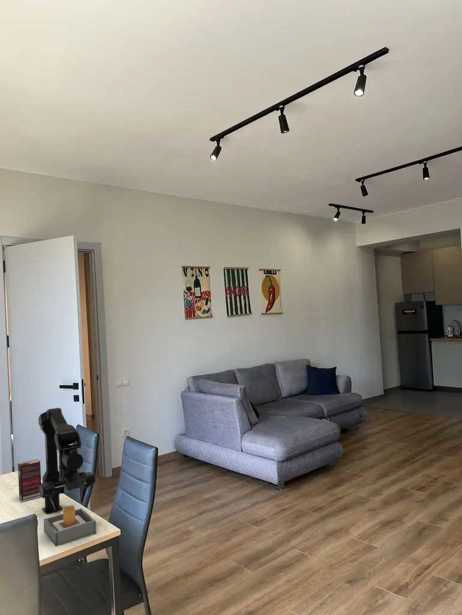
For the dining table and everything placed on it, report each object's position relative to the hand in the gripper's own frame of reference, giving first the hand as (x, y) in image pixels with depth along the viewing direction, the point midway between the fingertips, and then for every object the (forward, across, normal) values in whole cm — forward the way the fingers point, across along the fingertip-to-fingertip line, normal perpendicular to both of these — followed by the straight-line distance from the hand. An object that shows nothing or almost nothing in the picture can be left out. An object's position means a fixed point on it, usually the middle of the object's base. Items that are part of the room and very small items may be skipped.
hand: (69, 506), depth 163 cm
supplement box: (+9, -3, +46) cm, 47 cm away
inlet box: (+9, 0, 0) cm, 9 cm away
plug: (+8, 0, 0) cm, 8 cm away
